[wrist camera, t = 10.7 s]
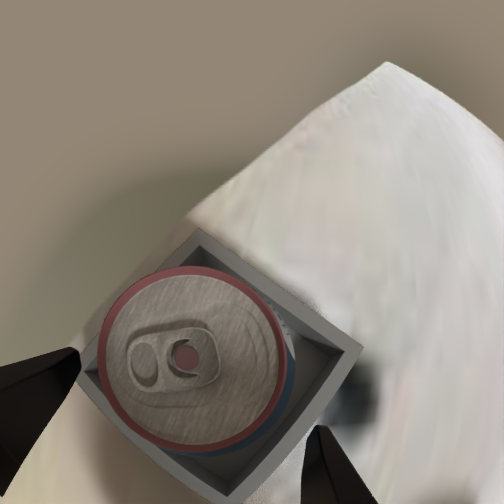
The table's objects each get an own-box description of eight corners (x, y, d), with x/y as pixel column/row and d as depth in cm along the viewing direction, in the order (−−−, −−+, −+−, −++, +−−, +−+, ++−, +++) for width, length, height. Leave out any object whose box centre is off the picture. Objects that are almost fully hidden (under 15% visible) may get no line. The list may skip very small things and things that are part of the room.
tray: (342, 355, 20) (364, 346, 16) (231, 493, 14) (230, 514, 11) (204, 253, 23) (199, 227, 20) (93, 374, 18) (67, 369, 14)
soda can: (252, 318, 20) (272, 230, 9) (276, 409, 17) (334, 439, 6) (159, 336, 19) (76, 268, 8) (178, 428, 16) (103, 474, 5)
